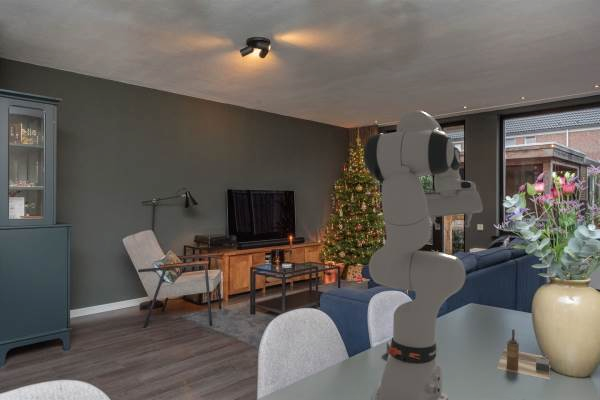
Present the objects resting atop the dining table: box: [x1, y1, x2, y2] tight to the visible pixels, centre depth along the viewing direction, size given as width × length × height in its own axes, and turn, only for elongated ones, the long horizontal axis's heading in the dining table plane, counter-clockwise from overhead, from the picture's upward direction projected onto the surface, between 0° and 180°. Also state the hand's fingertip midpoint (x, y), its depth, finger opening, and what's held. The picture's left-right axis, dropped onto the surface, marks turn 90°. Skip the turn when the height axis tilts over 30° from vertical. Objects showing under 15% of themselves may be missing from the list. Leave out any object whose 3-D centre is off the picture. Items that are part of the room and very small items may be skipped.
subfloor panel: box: [496, 348, 551, 381], centre depth 135 cm, size 20×14×1 cm
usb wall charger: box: [386, 341, 391, 356], centre depth 143 cm, size 4×7×4 cm, turn 91°
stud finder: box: [536, 355, 550, 372], centre depth 132 cm, size 6×4×2 cm, turn 149°
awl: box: [506, 329, 520, 370], centre depth 131 cm, size 3×3×12 cm
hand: (452, 228), depth 142 cm, fingers open, 8 cm apart
